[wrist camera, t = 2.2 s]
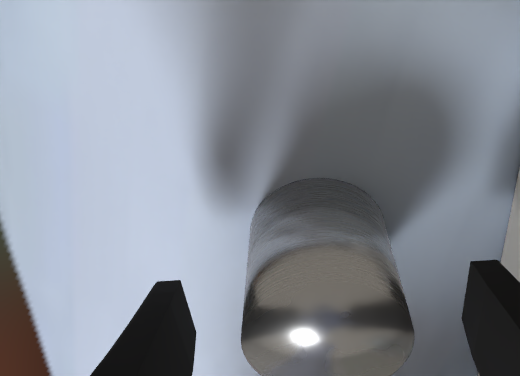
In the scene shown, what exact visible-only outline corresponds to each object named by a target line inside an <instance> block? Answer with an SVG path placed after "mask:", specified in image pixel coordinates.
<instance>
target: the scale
mask: <svg viewBox="0 0 520 376" xmlns="http://www.w3.org/2000/svg"><path fill="white" fill-rule="evenodd" d="M500 263H501V264H502V265H503V266H504V267H505V268H506V269H507V270H508V271H509V272H510V273H511V274H512V275H513V276H514V277H515V278H516V279H517V280H518V281H519V282H520V168H519V173H518V178H517V183H516V188H515V193H514V198H513V203H512V208H511V213H510V218H509V223H508V228H507V233H506V238H505V243H504V248H503V252H502V257H501V262H500ZM478 376H480V375H479V372H478Z"/></svg>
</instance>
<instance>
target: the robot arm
mask: <svg viewBox="0 0 520 376" xmlns="http://www.w3.org/2000/svg"><path fill="white" fill-rule="evenodd" d="M462 321H463V325H464V329H465V332H466V336H467V340H468V343H469V347H470V350H471V354H472V357H473V360H474V362H475V365H476V367H477V370H478V372H479V375H480V376H520V282H519V281H518V280H517V279H516V278H515V277H514V276H513V275H512V274H511V273H510V272H509V271H508V270H507V269H506V268H505V267H504V266H503V265H502V264H501V263H500V262H499V261H498V260H486V261H471V263H470V269H469V275H468V282H467V288H466V294H465V301H464V307H463V313H462ZM195 341H196V330H195V327H194V323H193V320H192V317H191V314H190V310H189V307H188V304H187V301H186V297H185V294H184V291H183V287H182V284H181V281H180V280H175V281H160V282H157V283H156V284H155V285H154V286H153V288H152V289H151V291H150V292H149V294H148V295H147V297H146V298H145V300H144V301H143V303H142V305H141V306H140V308H139V309H138V311H137V312H136V314H135V315H134V316H133V318H132V319H131V321H130V322H129V324H128V325H127V327H126V328H125V330H124V331H123V332H122V334H121V335H120V337H119V338H118V339H117V341H116V342H115V344H114V345H113V346H112V348H111V349H110V351H109V352H108V353H107V355H106V356H105V357H104V359H103V360H102V361H101V362H100V364H99V365H98V366H97V367H96V369H95V370H94V371H93V373H92V374H91V375H90V376H192V372H193V363H194V353H195Z"/></svg>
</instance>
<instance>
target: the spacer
mask: <svg viewBox="0 0 520 376" xmlns="http://www.w3.org/2000/svg"><path fill="white" fill-rule="evenodd" d="M413 344H414V329H413V325H412V321H411V317H410V314H409V310H408V307H407V303H406V299H405V296H404V292H403V288H402V285H401V281H400V277H399V274H398V270H397V266H396V263H395V259H394V255H393V252H392V248H391V244H390V241H389V237H388V233H387V230H386V226H385V223H384V219H383V215H382V213H381V211H380V209H379V207H378V205H377V204H376V202H375V201H374V200H373V199H372V198H371V197H370V196H369V195H368V194H367V193H365V192H364V191H362V190H361V189H359V188H358V187H356V186H353V185H351V184H349V183H346V182H343V181H339V180H334V179H325V178H313V179H305V180H300V181H296V182H293V183H290V184H288V185H285V186H283V187H281V188H279V189H277V190H276V191H274V192H273V193H271V194H270V195H269V196H268V197H267V198H266V199H264V201H263V202H262V203H261V204H260V205H259V207H258V208H257V210H256V211H255V214H254V216H253V218H252V222H251V227H250V239H249V251H248V262H247V274H246V286H245V298H244V309H243V321H242V333H241V345H242V350H243V353H244V355H245V357H246V359H247V361H248V362H249V364H250V365H251V366H252V367H253V368H254V369H255V370H256V371H257V372H258V373H259V374H260V375H262V376H390V375H392V374H393V373H395V372H396V371H397V370H398V369H399V368H400V367H401V366H402V365H403V364H404V362H405V361H406V360H407V358H408V357H409V355H410V353H411V351H412V348H413Z"/></svg>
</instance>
